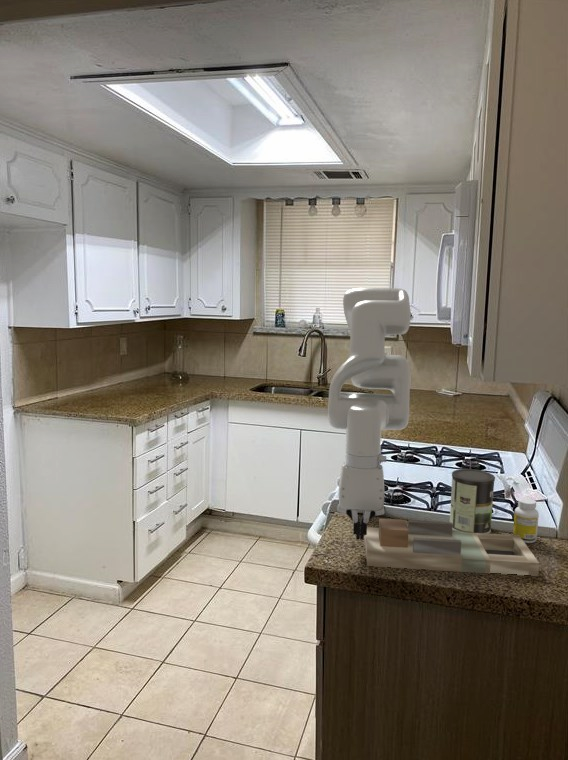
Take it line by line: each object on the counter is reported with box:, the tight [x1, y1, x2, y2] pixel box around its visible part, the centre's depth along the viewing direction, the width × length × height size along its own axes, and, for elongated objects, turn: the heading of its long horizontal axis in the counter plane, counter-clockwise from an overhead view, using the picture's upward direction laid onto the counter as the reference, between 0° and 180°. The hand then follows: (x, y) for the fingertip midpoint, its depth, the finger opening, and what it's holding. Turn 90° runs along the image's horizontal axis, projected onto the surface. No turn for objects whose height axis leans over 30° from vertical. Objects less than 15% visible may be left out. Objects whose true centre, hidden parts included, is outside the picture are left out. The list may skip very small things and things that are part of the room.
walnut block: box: [378, 518, 409, 548], centre depth 131 cm, size 6×6×4 cm
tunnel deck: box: [363, 519, 540, 577], centre depth 131 cm, size 14×36×6 cm, turn 85°
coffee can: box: [449, 468, 496, 534], centre depth 146 cm, size 10×10×14 cm
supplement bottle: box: [512, 497, 540, 544], centre depth 140 cm, size 5×5×10 cm
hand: (359, 537), depth 132 cm, fingers closed
